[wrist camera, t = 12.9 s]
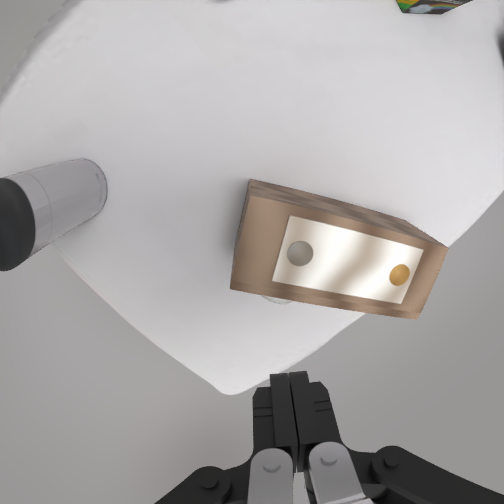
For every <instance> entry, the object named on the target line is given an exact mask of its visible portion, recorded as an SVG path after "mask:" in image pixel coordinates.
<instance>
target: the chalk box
mask: <svg viewBox="0 0 504 504" xmlns="http://www.w3.org/2000/svg"><path fill="white" fill-rule="evenodd" d="M470 1H472V0H397V2H398V4H399V6H400V8H401V11H402V12H404V13H428V14H443V13H445V12H447V11H449V10H451V9H454V8H456V7H458V6H460V5H463V4H465V3H467V2H470Z"/></svg>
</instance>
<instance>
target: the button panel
mask: <svg viewBox="0 0 504 504" xmlns="http://www.w3.org/2000/svg"><path fill="white" fill-rule="evenodd" d="M447 251H448V247H446V246H445V245H443V244H442V243H440V242H438V241H437V240H435V239H434V238H432V237H431V236H429V235H428V234H426V233H425V232H423V231H421V230H420V229H418V228H417V227H415V226H413V225H412V224H410V223H408V222H407V221H405V220H402V219H399V218H396V217H393V216H390V215H386V214H383V213H380V212H376V211H373V210H370V209H366V208H363V207H359V206H356V205H352V204H349V203H345V202H342V201H338V200H334V199H331V198H327V197H323V196H319V195H316V194H312V193H308V192H304V191H300V190H296V189H292V188H288V187H283V186H279V185H275V184H271V183H266V182H262V181H257V180H253V179H250V181H249V186H248V190H247V194H246V199H245V203H244V208H243V212H242V217H241V221H240V226H239V230H238V235H237V239H236V244H235V248H234V257H233V265H232V274H231V282H230V289H232V290H237V291H243V292H248V293H253V294H258V295H264V296H269V297H275V298H280V299H286V300H291V301H297V302H303V303H309V304H315V305H320V306H327V307H333V308H339V309H345V310H352V311H358V312H365V313H372V314H378V315H386V316H393V317H401V318H408V319H415V320H417V319H418V317H419V315H420V313H421V311H422V309H423V307H424V305H425V303H426V301H427V299H428V296H429V294H430V292H431V290H432V288H433V285H434V283H435V281H436V278H437V276H438V274H439V271H440V269H441V266H442V264H443V262H444V259H445V256H446V254H447Z"/></svg>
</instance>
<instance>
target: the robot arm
mask: <svg viewBox="0 0 504 504" xmlns="http://www.w3.org/2000/svg"><path fill="white" fill-rule="evenodd" d="M106 196H107V184H106V180H105V177H104V175H103V172H102V171H101V170H100V168H99V167H98V166H97V165H96V164H95V163H93V162H91V161H90V160H86V159H77V160H72V161H67V162H62V163H57V164H53V165H48V166H44V167H40V168H36V169H32V170H28V171H24V172H20V173H16V174H13V175H10V176H6V177H3V178H0V271H8V270H11V269H13V268H15V267H17V266H18V265H20V264H21V263H22V262H24V261H25V260H26V259H28V258H29V257H31V256H32V255H33V254H35V253H36V252H38V251H39V250H41V249H42V248H44V247H45V246H47V245H48V244H50V243H51V242H53V241H54V240H56V239H57V238H59V237H61V236H62V235H64V234H65V233H67V232H69V231H70V230H72V229H74V228H75V227H77V226H78V225H80V224H82V223H84V222H85V221H87V220H89V219H90V218H92V217H94V216H95V215H96V214H98V213H99V212H100V210H101V209H102V207H103V206H104V204H105V200H106ZM253 441H254V442H253V443H254V449H253V454H252V455H251V457H250V459H249V460H248V461H247V462H245V463H244V464H242V465H240V466H237V467H234V468H231V469H227V470H222V469H220V468H218V467H213V466H207V467H202V468H199V469H197V470H196V471H194V472H193V473H192V474H191V475H190V476H188V477H187V478H186V479H185V480H184V481H183V482H181V483H180V484H179V485H178V486H176V487H175V488H174V489H173V490H172V491H170V492H169V493H168V494H166V495H165V496H164V497H163V498H161V499H160V500H159V501H157V502H156V503H155V504H293V479H294V473H296V465H297V472H304V478H305V485H304V488H305V493H306V497H307V502H308V504H504V495H502V494H500V493H497V492H494V491H492V490H490V489H487V488H484V487H482V486H480V485H477V484H475V483H473V482H470V481H468V480H466V479H464V478H461V477H459V476H457V475H455V474H452V473H450V472H448V471H446V470H444V469H442V468H440V467H438V466H435V465H434V464H432V463H430V462H428V461H426V460H424V459H422V458H420V457H418V456H416V455H414V454H412V453H410V452H408V451H407V450H405V449H403V448H401V447H398V446H386V447H384V448H381V449H380V450H378V451H377V452H376V453H368V452H367V453H366V452H357V451H353V450H351V449H349V448H348V447H346V446H345V445H344V444H343V442H342V440H341V438H340V434H339V430H338V426H337V423H336V419H335V415H334V411H333V408H332V404H331V402H330V397H329V393H328V390H327V389H326V387H325V386H324V385H323V384H322V383H321V382H312V383H309V379H308V374H307V371H300V372H290V373H289V374H287V373H280V374H270V387H259V388H257V390H256V392H255V394H254V396H253Z"/></svg>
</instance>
